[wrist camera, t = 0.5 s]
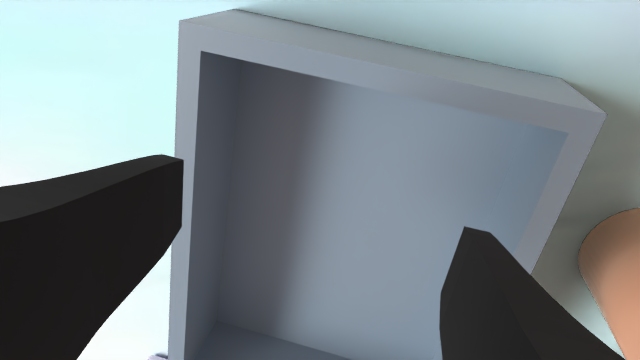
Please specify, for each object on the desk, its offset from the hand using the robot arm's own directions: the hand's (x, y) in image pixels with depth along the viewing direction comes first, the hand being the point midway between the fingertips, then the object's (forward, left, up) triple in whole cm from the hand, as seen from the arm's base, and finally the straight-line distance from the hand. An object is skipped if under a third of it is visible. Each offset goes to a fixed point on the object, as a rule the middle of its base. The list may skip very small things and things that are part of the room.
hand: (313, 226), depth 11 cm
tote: (-5, -1, -10) cm, 11 cm away
